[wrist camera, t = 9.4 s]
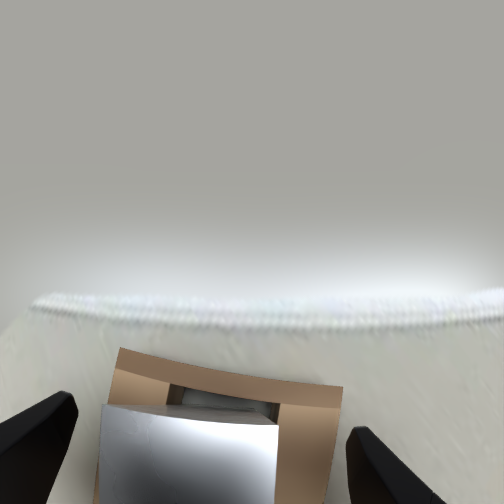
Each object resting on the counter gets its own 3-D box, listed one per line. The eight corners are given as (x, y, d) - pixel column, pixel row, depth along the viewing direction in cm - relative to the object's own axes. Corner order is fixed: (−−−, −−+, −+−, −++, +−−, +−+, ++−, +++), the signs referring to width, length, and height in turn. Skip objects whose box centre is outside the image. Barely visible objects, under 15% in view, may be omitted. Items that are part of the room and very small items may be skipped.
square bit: (250, 465, 15) (268, 569, 4) (188, 459, 15) (101, 543, 4) (253, 408, 16) (278, 425, 5) (192, 403, 16) (101, 403, 5)
